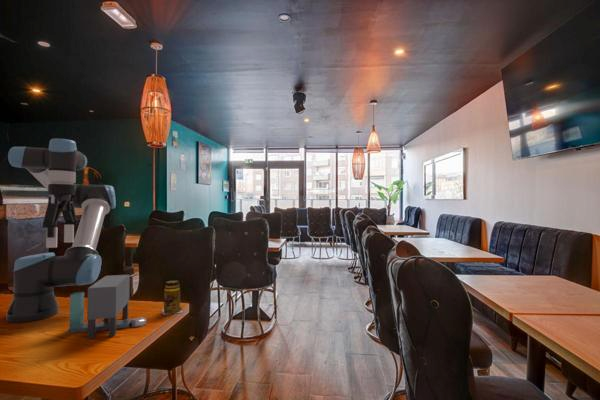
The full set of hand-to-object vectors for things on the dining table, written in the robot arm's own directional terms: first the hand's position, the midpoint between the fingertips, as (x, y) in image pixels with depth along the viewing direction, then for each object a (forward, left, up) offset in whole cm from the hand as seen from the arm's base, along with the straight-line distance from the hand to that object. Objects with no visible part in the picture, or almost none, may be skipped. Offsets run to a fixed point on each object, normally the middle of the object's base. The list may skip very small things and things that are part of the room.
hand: (60, 244), depth 106 cm
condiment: (-8, +36, -29) cm, 46 cm away
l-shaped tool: (+4, +14, -29) cm, 32 cm away
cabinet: (+4, +17, -29) cm, 33 cm away
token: (+4, +26, -29) cm, 39 cm away
